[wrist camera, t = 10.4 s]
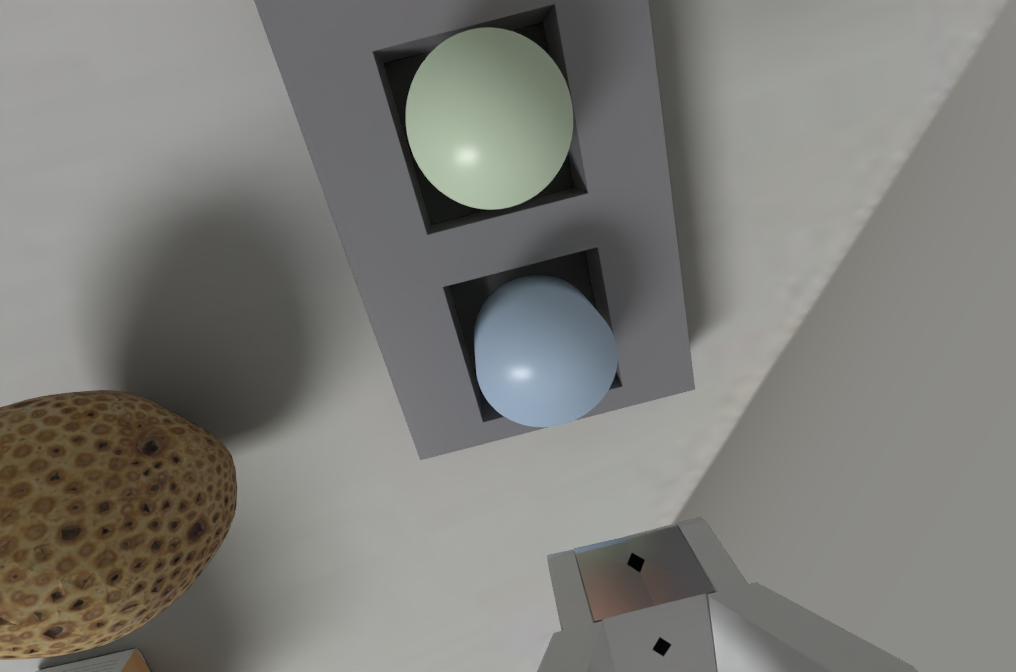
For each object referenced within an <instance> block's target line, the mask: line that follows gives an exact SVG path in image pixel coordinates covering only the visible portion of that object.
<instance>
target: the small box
mask: <svg viewBox="0 0 1016 672" xmlns="http://www.w3.org/2000/svg"><path fill="white" fill-rule="evenodd" d="M36 672H151V671H150V670H149V668H148V667H147V665H146V663H145V659H144V658H143V656H142V654H141V653H140V651H139V650H138V649H136V648H134V649H130V650H126V651H122V652H118V653H113V654H109V655H105V656H100V657H96V658H91V659H87V660H82V661H77V662H73V663H68V664H64V665H59V666H55V667H50V668H46V669H41V670H38V671H36Z"/></svg>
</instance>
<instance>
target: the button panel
mask: <svg viewBox="0 0 1016 672" xmlns="http://www.w3.org/2000/svg"><path fill="white" fill-rule="evenodd" d="M254 1H255V4H256V7H257V9H258V12H259V15H260V18H261V20H262V23H263V26H264V29H265V31H266V34H267V37H268V40H269V43H270V45H271V48H272V51H273V54H274V56H275V59H276V62H277V65H278V67H279V70H280V73H281V76H282V78H283V81H284V84H285V87H286V90H287V92H288V95H289V98H290V101H291V103H292V106H293V109H294V112H295V114H296V117H297V120H298V123H299V126H300V128H301V131H302V134H303V137H304V139H305V142H306V145H307V148H308V150H309V153H310V156H311V159H312V162H313V164H314V167H315V170H316V173H317V175H318V178H319V181H320V184H321V186H322V189H323V192H324V195H325V198H326V200H327V203H328V206H329V209H330V211H331V214H332V217H333V220H334V222H335V225H336V228H337V231H338V234H339V236H340V239H341V242H342V245H343V247H344V250H345V253H346V256H347V258H348V261H349V264H350V267H351V270H352V272H353V275H354V278H355V281H356V283H357V286H358V289H359V292H360V294H361V297H362V300H363V303H364V306H365V308H366V311H367V314H368V317H369V319H370V322H371V325H372V328H373V330H374V333H375V336H376V339H377V342H378V344H379V347H380V350H381V353H382V355H383V358H384V361H385V364H386V366H387V369H388V372H389V375H390V377H391V380H392V383H393V386H394V389H395V391H396V394H397V397H398V400H399V402H400V405H401V408H402V411H403V413H404V416H405V419H406V422H407V425H408V427H409V430H410V433H411V436H412V438H413V441H414V444H415V447H416V449H417V452H418V455H419V458H420V460H423V459H427V458H430V457H434V456H438V455H442V454H446V453H450V452H454V451H458V450H461V449H465V448H469V447H473V446H477V445H481V444H485V443H489V442H492V441H496V440H500V439H504V438H508V437H512V436H516V435H520V434H524V433H527V432H531V431H535V430H539V429H543V428H547V427H532V426H526V425H522V424H519V423H516V422H514V421H511V420H509V419H508V418H506V417H504V416H503V415H501V414H500V413H499V412H497V411H496V410H495V409H494V408H493V407H492V406H491V405H490V404H489V402H488V401H487V400H486V398H485V396H484V395H481V394H480V391H479V388H478V384H477V381H476V377H475V374H474V370H473V367H472V364H471V360H470V357H469V353H468V350H467V347H466V343H465V340H464V336H463V333H462V330H461V326H460V323H459V319H458V316H457V313H456V309H455V306H454V302H453V299H452V295H451V292H450V289H449V285H453V284H457V283H461V282H464V281H468V280H472V279H476V278H480V277H484V276H488V275H492V274H495V273H499V272H503V271H507V270H511V269H515V268H519V267H523V266H526V265H530V264H534V263H538V262H542V261H546V260H550V259H554V258H557V257H561V256H565V255H569V254H573V253H577V252H581V251H584V250H586V256H587V261H588V266H589V272H590V277H591V282H592V288H593V293H594V298H595V304H596V309H597V311H598V313H599V314H600V315H601V316H602V317H603V319H604V320H605V321H606V322H607V324H608V325H609V327H610V329H611V331H612V333H613V335H614V338H615V341H616V345H617V353H618V361H617V369H616V373H615V377H614V380H613V382H612V384H611V386H610V388H609V390H608V392H607V393H606V395H605V396H604V397H603V399H602V400H601V401H600V402H599V403H598V404H597V405H596V406H595V407H594V408H593V409H592V410H590V411H589V412H588V413H586V414H585V415H583V416H582V417H580V418H578V419H582V418H586V417H589V416H593V415H597V414H601V413H605V412H609V411H613V410H617V409H621V408H624V407H628V406H632V405H636V404H640V403H644V402H648V401H652V400H655V399H659V398H663V397H667V396H671V395H675V394H679V393H683V392H686V391H690V390H694V389H695V385H694V377H693V369H692V360H691V352H690V343H689V335H688V327H687V318H686V310H685V302H684V293H683V285H682V276H681V268H680V260H679V251H678V243H677V234H676V226H675V218H674V209H673V201H672V193H671V184H670V176H669V167H668V159H667V151H666V142H665V134H664V126H663V117H662V109H661V100H660V92H659V84H658V75H657V67H656V59H655V50H654V42H653V33H652V25H651V17H650V8H649V0H254ZM541 22H543V25H544V31H545V36H546V41H547V47H548V52H549V56H550V57H551V58H552V59H553V61H554V62H555V64H556V65H557V66H558V68H559V69H560V71H561V73H562V75H563V77H564V79H565V81H566V84H567V87H568V89H569V92H570V97H571V101H572V107H573V133H572V139H571V143H570V147H569V151H568V153H567V154H568V159H569V164H570V170H571V175H572V181H573V186H574V188H573V189H569V190H565V191H561V192H557V193H553V194H550V195H546V196H542V197H538V198H534V199H530V200H527V201H525V202H523V203H521V204H518V205H515V206H512V207H509V208H503V209H492V210H488V211H484V212H480V213H476V214H472V215H468V216H465V217H461V218H457V219H453V220H449V221H445V222H441V223H437V224H434V225H431V224H430V220H429V217H428V214H427V210H426V207H425V203H424V200H423V197H422V193H421V190H420V186H419V183H418V180H417V176H416V173H415V169H414V166H413V163H412V159H411V156H410V152H409V149H408V145H407V142H406V139H405V135H404V132H403V128H402V125H401V122H400V118H399V115H398V111H397V108H396V105H395V101H394V98H393V94H392V91H391V88H390V84H389V81H388V77H387V74H386V70H385V67H384V64H383V63H387V62H391V61H395V60H399V59H403V58H406V57H410V56H414V55H418V54H422V53H426V52H430V51H433V50H434V49H435V48H436V47H437V46H438V45H440V44H441V43H442V42H444V41H445V40H447V39H448V38H450V37H452V36H454V35H456V34H458V33H461V32H464V31H467V30H471V29H476V28H490V27H492V28H500V29H506V30H509V31H511V30H514V29H518V28H522V27H526V26H530V25H534V24H538V23H541ZM578 419H576V420H578Z"/></svg>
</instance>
